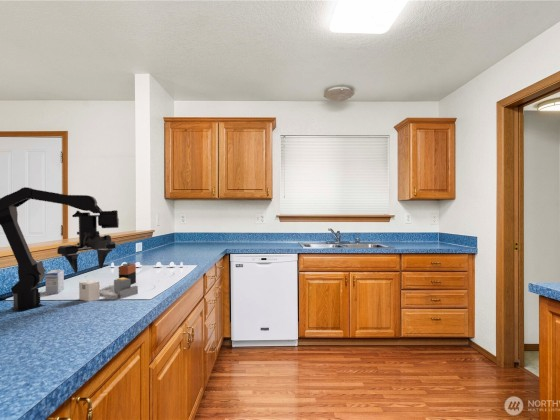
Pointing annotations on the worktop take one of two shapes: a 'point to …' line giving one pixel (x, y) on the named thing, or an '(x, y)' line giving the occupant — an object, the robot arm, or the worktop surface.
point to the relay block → (121, 284)
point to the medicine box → (54, 281)
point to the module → (89, 290)
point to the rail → (119, 292)
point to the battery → (128, 272)
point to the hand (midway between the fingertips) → (88, 270)
